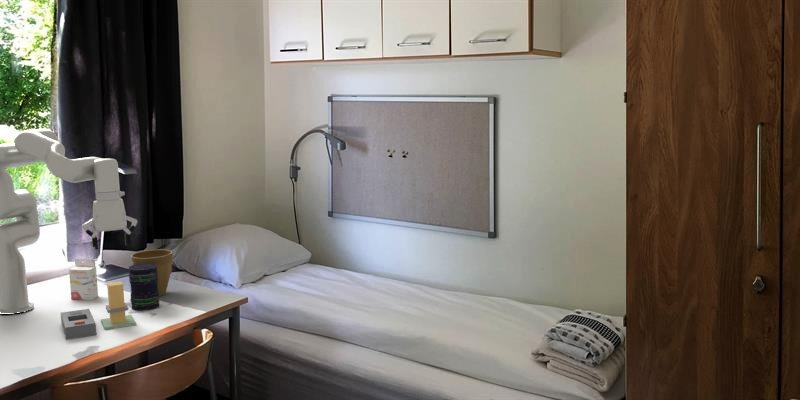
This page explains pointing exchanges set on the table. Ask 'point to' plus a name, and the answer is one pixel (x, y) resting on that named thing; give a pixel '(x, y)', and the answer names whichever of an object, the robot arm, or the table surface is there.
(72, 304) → the table surface
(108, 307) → the plug
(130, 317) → the mat
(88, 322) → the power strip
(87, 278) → the ink cartridge box
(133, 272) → the storage jar
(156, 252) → the plant pot
